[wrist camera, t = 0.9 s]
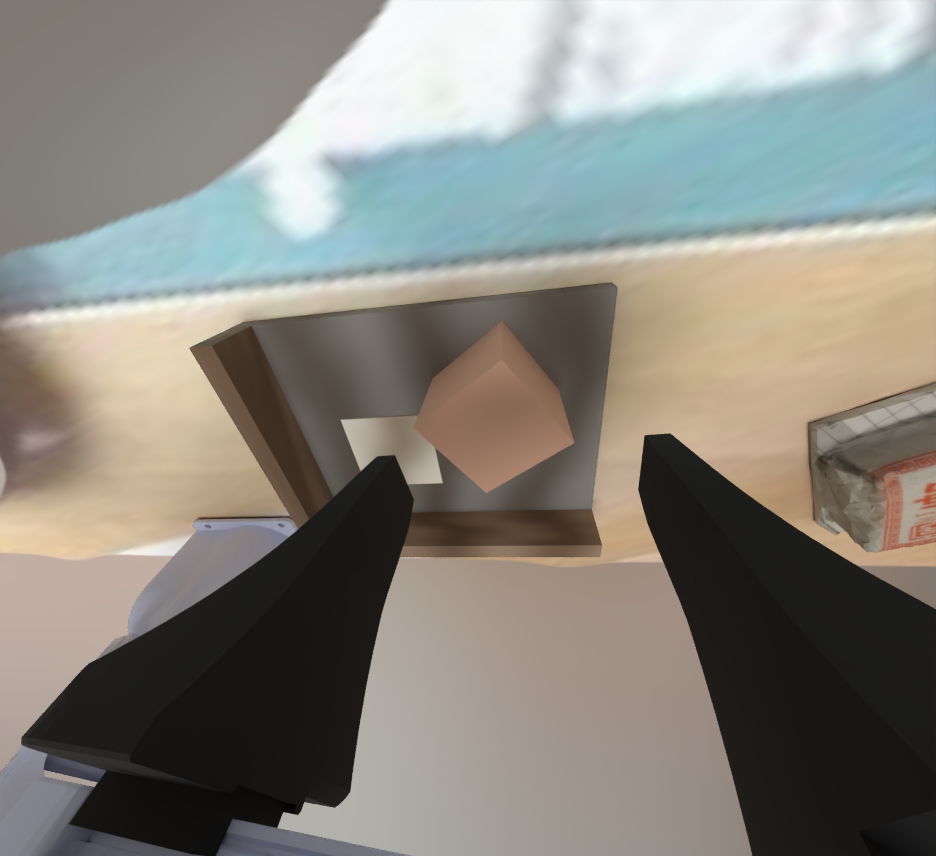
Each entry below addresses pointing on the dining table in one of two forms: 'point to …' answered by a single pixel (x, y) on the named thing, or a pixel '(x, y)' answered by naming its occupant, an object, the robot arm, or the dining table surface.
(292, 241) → the dining table surface
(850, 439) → the packaged product
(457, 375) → the cube
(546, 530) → the tray
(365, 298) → the dining table surface
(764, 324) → the dining table surface
